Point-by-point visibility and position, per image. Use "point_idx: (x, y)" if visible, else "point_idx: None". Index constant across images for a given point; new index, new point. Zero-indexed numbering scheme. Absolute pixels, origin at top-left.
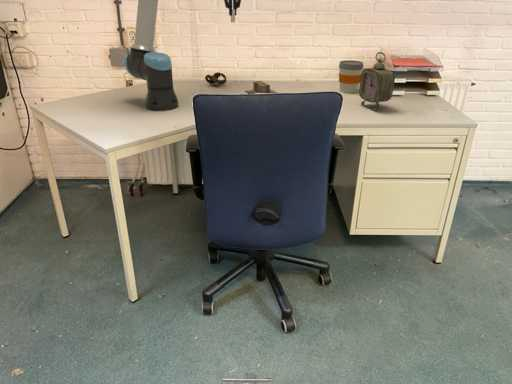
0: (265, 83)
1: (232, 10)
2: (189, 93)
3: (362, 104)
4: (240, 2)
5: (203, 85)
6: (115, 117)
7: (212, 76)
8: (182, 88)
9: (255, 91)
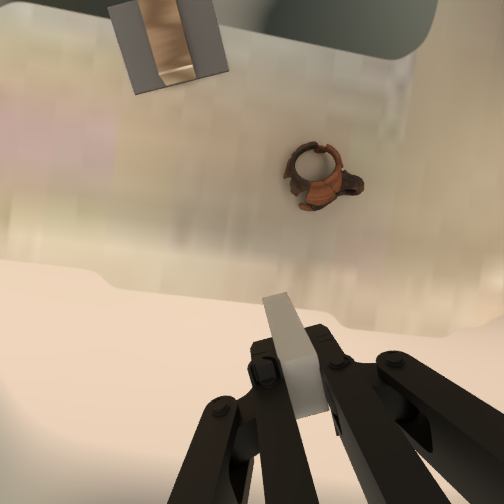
0: (146, 15)
1: (311, 345)
2: (421, 79)
3: None
4: (183, 470)
5: None
6: None
7: (341, 171)
8: (431, 158)
9: (191, 49)
